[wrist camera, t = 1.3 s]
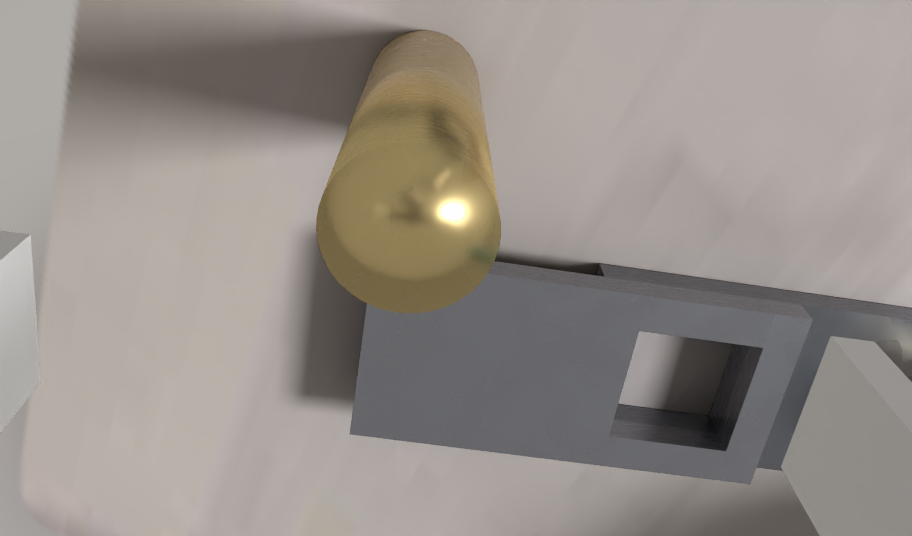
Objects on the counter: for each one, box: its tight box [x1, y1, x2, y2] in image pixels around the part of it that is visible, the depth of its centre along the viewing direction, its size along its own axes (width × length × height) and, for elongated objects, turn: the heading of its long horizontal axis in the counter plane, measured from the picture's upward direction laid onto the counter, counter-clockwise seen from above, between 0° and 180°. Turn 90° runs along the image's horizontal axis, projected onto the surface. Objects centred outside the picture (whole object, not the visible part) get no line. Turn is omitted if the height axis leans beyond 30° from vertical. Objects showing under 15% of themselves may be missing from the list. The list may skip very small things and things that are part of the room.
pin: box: [316, 30, 501, 313], centre depth 25 cm, size 4×4×14 cm
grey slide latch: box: [350, 261, 912, 484], centre depth 33 cm, size 8×26×6 cm, turn 81°
